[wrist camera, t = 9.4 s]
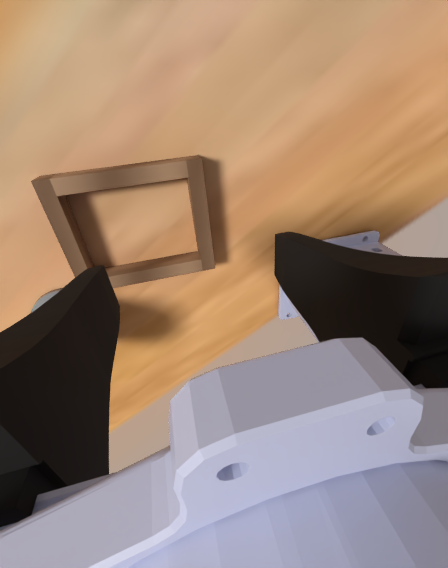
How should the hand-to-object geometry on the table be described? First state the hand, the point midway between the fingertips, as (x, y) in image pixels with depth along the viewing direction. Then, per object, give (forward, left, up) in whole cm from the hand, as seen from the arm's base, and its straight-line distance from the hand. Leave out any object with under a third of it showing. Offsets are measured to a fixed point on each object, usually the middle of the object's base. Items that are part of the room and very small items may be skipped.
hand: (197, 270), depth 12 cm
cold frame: (+3, +1, -10) cm, 10 cm away
